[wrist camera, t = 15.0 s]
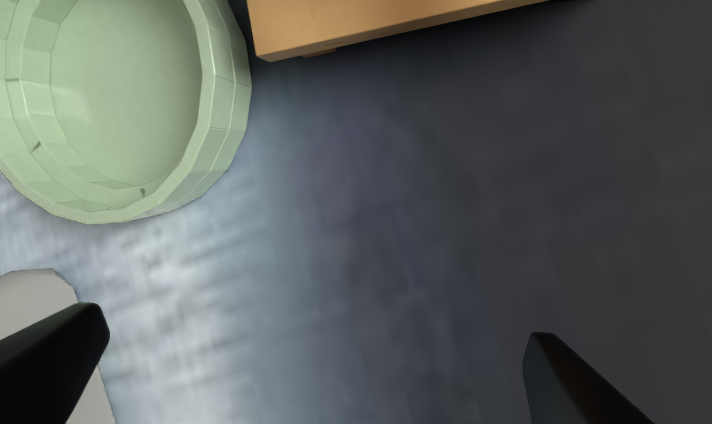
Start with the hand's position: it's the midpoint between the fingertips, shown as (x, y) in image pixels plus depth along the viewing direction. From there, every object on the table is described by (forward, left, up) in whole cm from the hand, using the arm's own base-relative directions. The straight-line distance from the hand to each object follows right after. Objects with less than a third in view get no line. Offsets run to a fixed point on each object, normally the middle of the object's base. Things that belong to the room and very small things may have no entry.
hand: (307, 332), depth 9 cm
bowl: (+14, -4, -11) cm, 19 cm away
